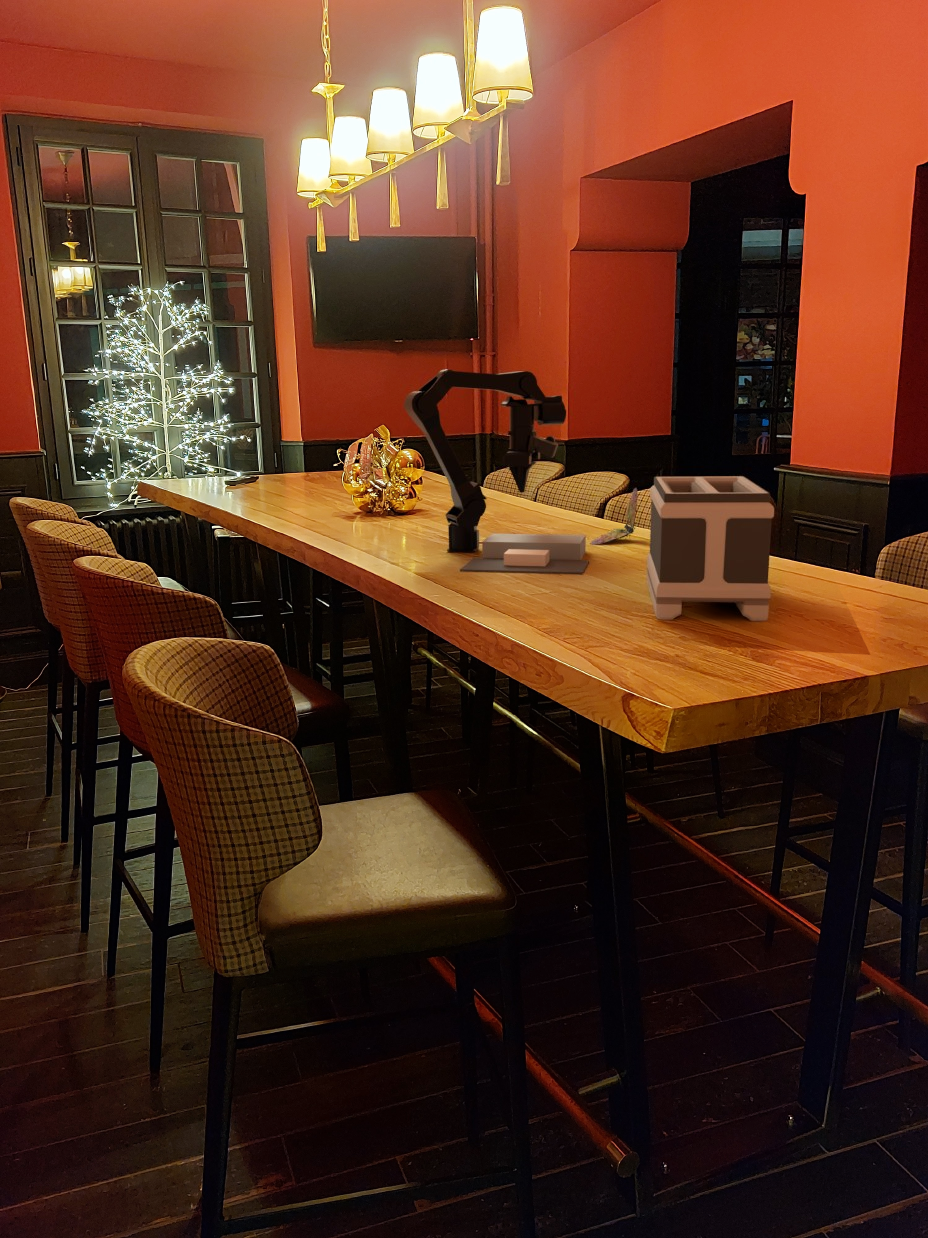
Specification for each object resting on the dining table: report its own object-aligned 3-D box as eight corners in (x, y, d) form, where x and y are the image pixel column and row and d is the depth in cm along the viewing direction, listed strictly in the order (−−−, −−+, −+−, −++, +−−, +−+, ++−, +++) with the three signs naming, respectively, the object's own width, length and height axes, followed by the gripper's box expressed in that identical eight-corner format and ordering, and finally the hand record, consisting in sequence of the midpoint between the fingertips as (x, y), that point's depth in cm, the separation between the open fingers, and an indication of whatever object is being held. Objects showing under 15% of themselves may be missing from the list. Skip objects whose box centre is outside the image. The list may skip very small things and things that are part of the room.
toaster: (739, 580, 189) (744, 473, 184) (769, 623, 156) (777, 494, 151) (644, 579, 191) (647, 474, 186) (655, 621, 158) (659, 494, 153)
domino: (508, 549, 211) (508, 560, 211) (503, 553, 205) (503, 565, 206) (549, 549, 209) (549, 561, 209) (545, 554, 203) (545, 566, 204)
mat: (459, 571, 203) (459, 569, 203) (473, 559, 216) (473, 557, 216) (582, 574, 197) (582, 572, 197) (589, 561, 210) (589, 560, 210)
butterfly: (650, 494, 239) (619, 474, 236) (664, 505, 230) (631, 485, 227) (612, 551, 244) (580, 533, 241) (623, 564, 235) (591, 545, 232)
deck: (482, 559, 216) (482, 541, 215) (492, 550, 227) (492, 533, 226) (580, 561, 211) (580, 543, 210) (585, 551, 222) (585, 534, 221)
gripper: (550, 427, 215) (550, 497, 219) (560, 423, 233) (560, 488, 236) (501, 428, 217) (502, 496, 221) (515, 424, 235) (515, 487, 239)
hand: (522, 492), depth 229 cm, fingers closed
